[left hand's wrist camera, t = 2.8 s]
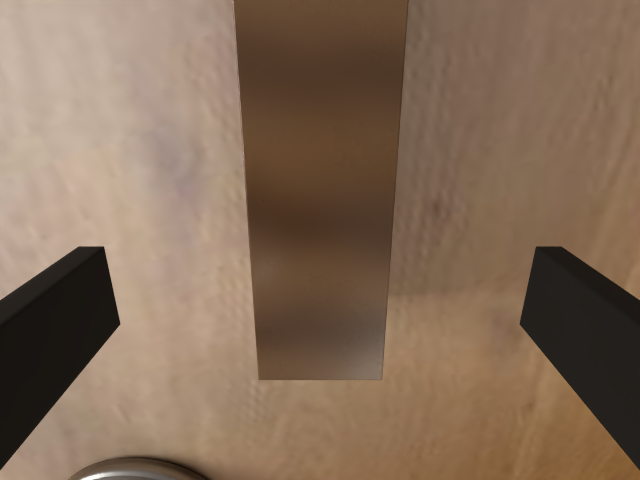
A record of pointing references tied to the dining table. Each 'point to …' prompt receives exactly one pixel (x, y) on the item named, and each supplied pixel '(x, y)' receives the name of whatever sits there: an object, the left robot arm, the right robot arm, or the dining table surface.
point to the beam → (320, 178)
